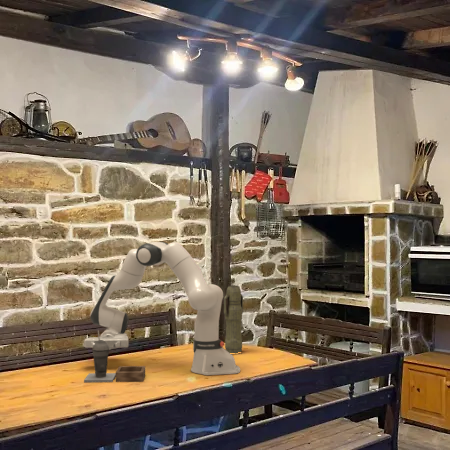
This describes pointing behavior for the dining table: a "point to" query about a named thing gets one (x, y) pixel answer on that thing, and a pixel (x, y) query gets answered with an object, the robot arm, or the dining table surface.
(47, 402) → the dining table surface
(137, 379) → the walnut collar
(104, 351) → the beverage cup
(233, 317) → the thermos
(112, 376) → the slate mat
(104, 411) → the dining table surface
